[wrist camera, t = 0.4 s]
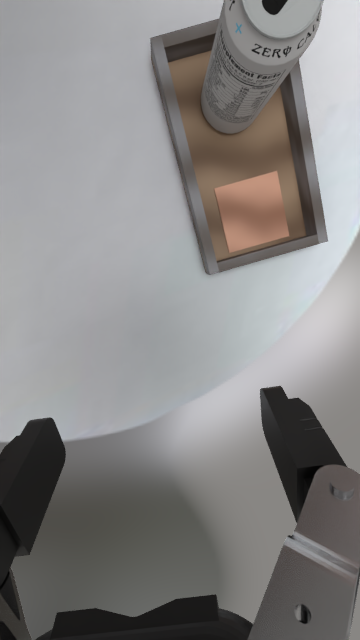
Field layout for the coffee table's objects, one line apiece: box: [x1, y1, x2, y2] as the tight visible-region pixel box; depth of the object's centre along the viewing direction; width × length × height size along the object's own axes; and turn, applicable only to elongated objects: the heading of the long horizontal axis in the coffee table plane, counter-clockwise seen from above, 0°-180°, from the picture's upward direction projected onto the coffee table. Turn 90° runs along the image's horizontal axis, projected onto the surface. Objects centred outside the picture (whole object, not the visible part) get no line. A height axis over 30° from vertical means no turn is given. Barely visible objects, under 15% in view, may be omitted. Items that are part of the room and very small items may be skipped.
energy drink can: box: [201, 0, 324, 134], centre depth 25 cm, size 6×6×15 cm
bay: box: [150, 19, 328, 275], centre depth 32 cm, size 22×13×3 cm, turn 15°
